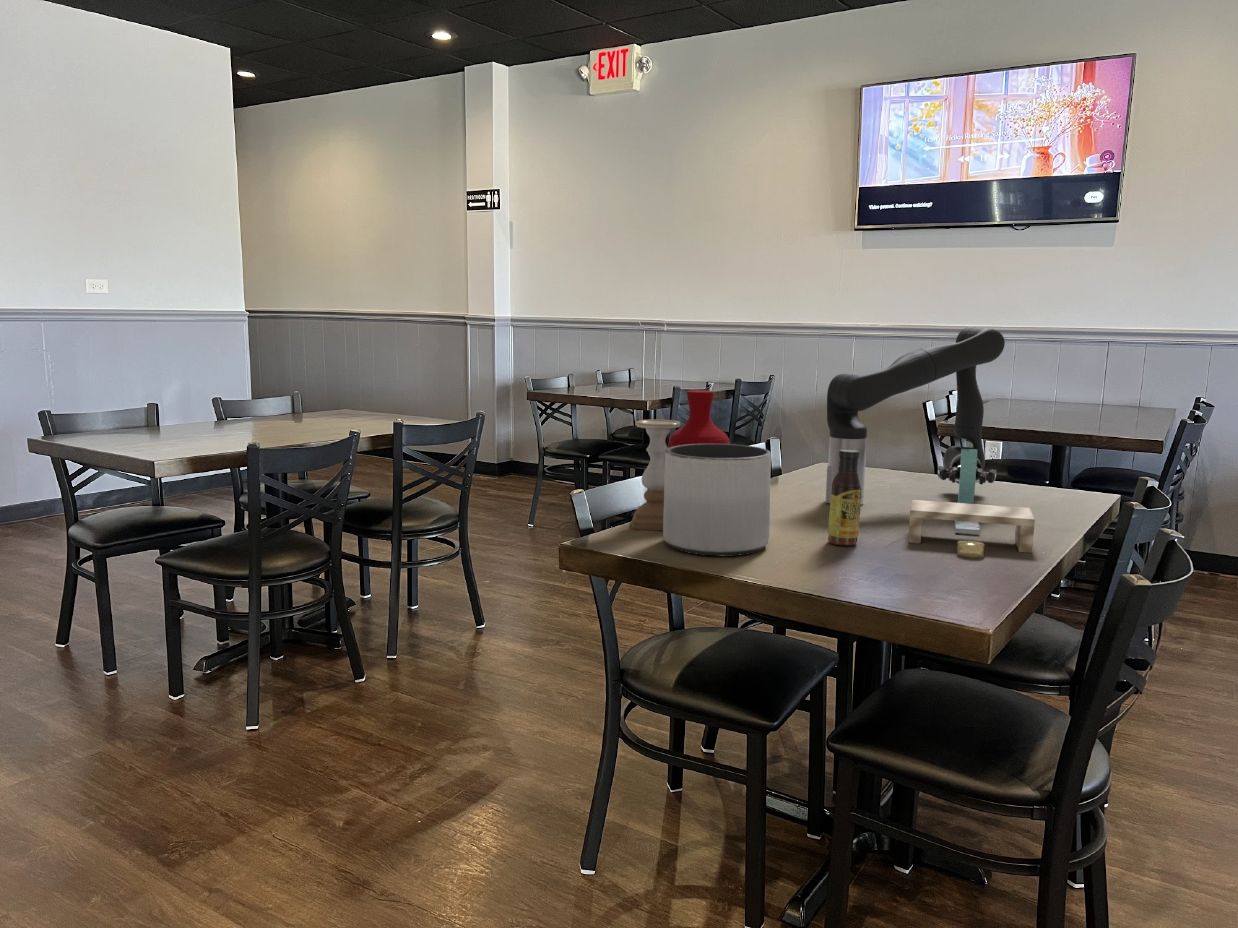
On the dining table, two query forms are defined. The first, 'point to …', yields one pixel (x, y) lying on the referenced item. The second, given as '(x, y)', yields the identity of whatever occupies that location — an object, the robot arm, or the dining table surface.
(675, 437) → the vase
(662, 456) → the candle holder
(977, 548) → the block
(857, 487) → the sauce bottle
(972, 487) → the bar
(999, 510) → the plinth shelf
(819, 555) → the dining table surface
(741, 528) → the planter
